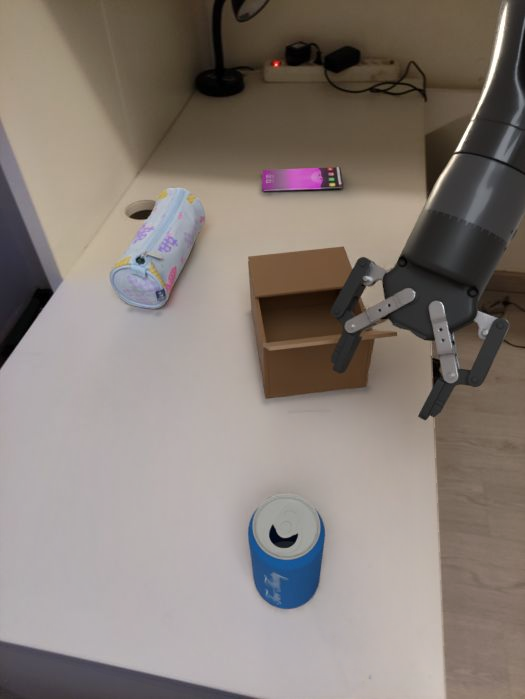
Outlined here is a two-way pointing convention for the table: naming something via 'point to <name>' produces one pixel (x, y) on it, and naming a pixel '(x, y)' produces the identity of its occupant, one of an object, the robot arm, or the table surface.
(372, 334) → the flap
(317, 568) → the beverage can
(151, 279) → the pencil case
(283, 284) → the carton
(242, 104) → the table surface
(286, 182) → the smartphone
